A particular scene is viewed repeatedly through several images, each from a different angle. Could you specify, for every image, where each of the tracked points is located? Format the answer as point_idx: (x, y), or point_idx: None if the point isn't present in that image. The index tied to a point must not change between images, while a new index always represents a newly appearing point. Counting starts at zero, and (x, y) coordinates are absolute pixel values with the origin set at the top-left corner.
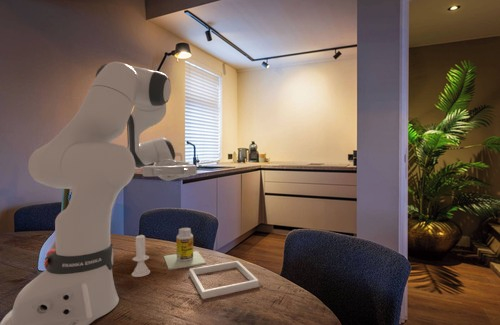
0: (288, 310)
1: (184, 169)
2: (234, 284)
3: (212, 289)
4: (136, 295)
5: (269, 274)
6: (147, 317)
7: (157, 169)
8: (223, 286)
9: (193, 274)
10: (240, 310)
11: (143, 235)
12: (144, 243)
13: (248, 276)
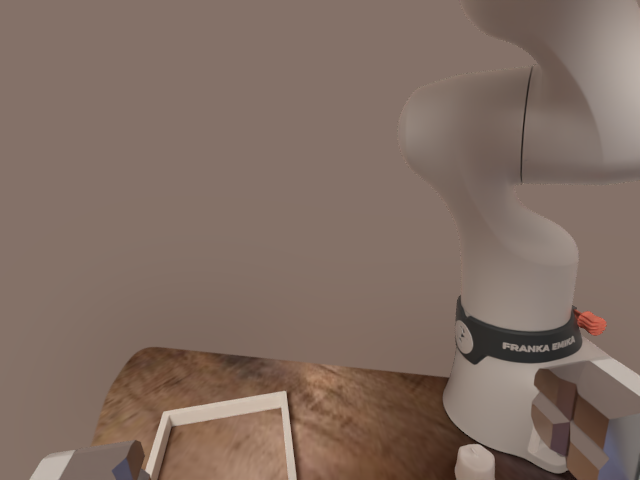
0: (175, 364)
1: (126, 444)
2: (218, 405)
3: (266, 395)
4: (421, 433)
5: None
6: (376, 374)
7: (613, 360)
8: (242, 401)
9: (292, 460)
10: (238, 371)
11: (469, 464)
12: (455, 468)
13: (162, 447)
